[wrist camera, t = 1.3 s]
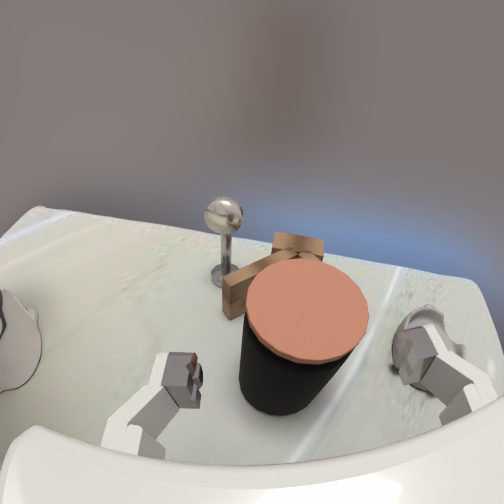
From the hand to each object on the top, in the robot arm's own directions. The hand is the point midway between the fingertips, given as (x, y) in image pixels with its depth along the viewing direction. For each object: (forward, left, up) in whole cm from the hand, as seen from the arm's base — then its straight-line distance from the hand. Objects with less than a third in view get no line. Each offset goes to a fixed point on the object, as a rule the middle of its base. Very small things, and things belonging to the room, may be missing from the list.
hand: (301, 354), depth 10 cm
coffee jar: (+2, +9, -26) cm, 28 cm away
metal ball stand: (-9, +26, -26) cm, 38 cm away
